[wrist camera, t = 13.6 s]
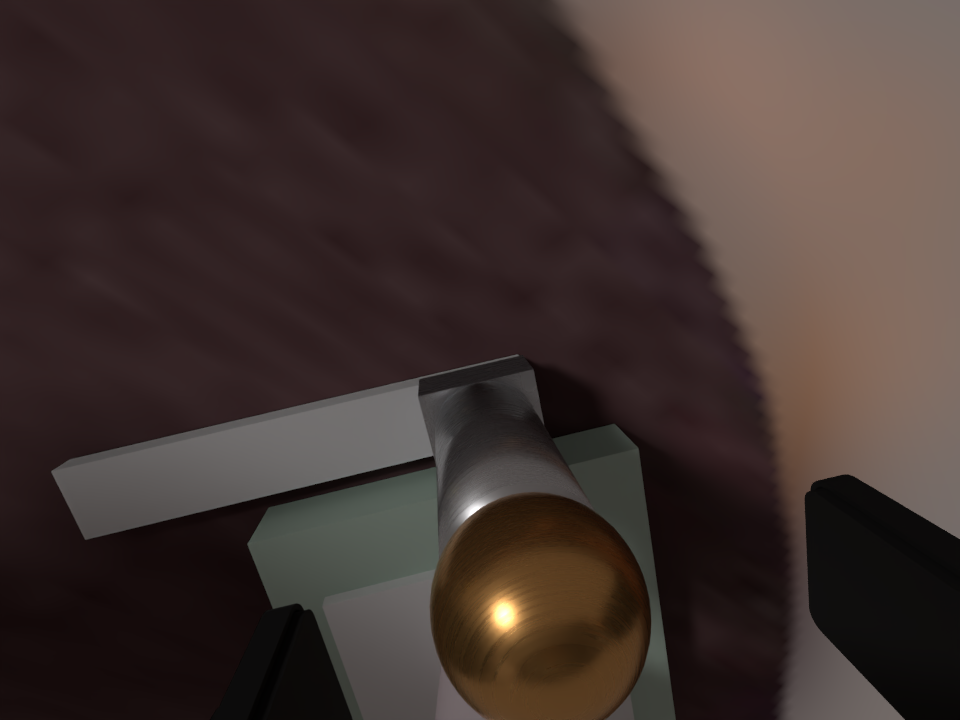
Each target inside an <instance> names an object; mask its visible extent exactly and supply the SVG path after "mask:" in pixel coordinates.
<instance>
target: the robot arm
mask: <svg viewBox="0 0 960 720" xmlns="http://www.w3.org/2000/svg"><path fill="white" fill-rule="evenodd" d="M805 517H806V542H807V566H808V590H809V609H810V613H811V616H812V618H813V620H814V622H815V624H816V625H817V627H818V628H819V629H820V630H821V631H822V633H823V634H824V635H825V636H826V637H827V638H828V639H829V640H830V641H831V642H832V643H833V644H834V645H835V646H836V648H837V649H838V650H839V651H840V652H841V653H842V654H843V655H844V656H845V657H846V658H847V659H848V660H849V661H850V662H851V663H852V664H853V665H854V666H855V667H856V669H857V670H858V671H859V672H860V673H861V674H862V675H863V676H864V677H865V678H866V679H867V680H868V681H869V682H870V683H871V684H872V685H873V686H874V687H875V688H876V689H877V691H878V692H879V693H880V694H881V695H882V696H883V697H884V698H885V699H886V700H887V701H888V702H889V703H890V704H891V705H892V706H893V707H894V709H895V710H897V712H898V713H899V714H900V715H901V716H902V717H903V718H904V719H905V720H960V539H958V538H957V537H955V536H953V535H951V534H950V533H948V532H947V531H945V530H943V529H941V528H940V527H938V526H936V525H935V524H933V523H931V522H929V521H928V520H926V519H925V518H923V517H921V516H919V515H918V514H916V513H914V512H913V511H911V510H909V509H908V508H906V507H904V506H903V505H901V504H899V503H898V502H896V501H894V500H893V499H891V498H889V497H887V496H886V495H884V494H882V493H881V492H879V491H877V490H876V489H874V488H872V487H870V486H869V485H867V484H866V483H864V482H862V481H860V480H859V479H857V478H855V477H853V476H850V475H840V476H836V477H832V478H827V479H824V480H819V481H816V482H814V483H813V484H812V486H811V491H809V492H807V493H806V495H805ZM210 720H353V719H352V716H351V713H350V710H349V708H348V705H347V702H346V699H345V697H344V694H343V691H342V689H341V686H340V683H339V681H338V678H337V675H336V672H335V670H334V667H333V664H332V662H331V659H330V656H329V653H328V651H327V648H326V645H325V643H324V640H323V637H322V634H321V632H320V629H319V626H318V624H317V621H316V618H315V615H314V613H313V611H312V610H310V609H307V610H304V609H303V607H302V606H301V605H300V604H297V603H296V604H292V605H287V606H283V607H279V608H275V609H270V610H267V611H266V612H264V614H263V615H262V617H261V619H260V621H259V623H258V625H257V628H256V630H255V632H254V634H253V636H252V638H251V640H250V642H249V645H248V647H247V649H246V651H245V653H244V655H243V657H242V660H241V662H240V664H239V666H238V668H237V670H236V672H235V674H234V677H233V679H232V681H231V683H230V685H229V687H228V689H227V692H226V694H225V696H224V698H223V700H222V702H221V704H220V707H219V708H218V709H217V710H216V711H215V712H214V714H213V716H212V717H211V719H210Z"/></svg>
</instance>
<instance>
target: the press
mask: <svg viewBox="0 0 960 720" xmlns="http://www.w3.org/2000/svg"><path fill="white" fill-rule="evenodd" d="M516 356H519V355H518V354H517V355H513V356H509V357H504V358H500V359H496V360H492V361H487V362H483V363H479V364H475V365H470V366H466V367H462V368H457V369H453V370H449V371H445V372H440V373H436V374H432V375H428V376H423V377H419V378H415V379H411V380H406V381H402V382H398V383H394V384H389V385H385V386H381V387H376V388H372V389H368V390H364V391H359V392H355V393H351V394H347V395H342V396H338V397H334V398H330V399H325V400H321V401H317V402H313V403H308V404H304V405H300V406H295V407H291V408H287V409H283V410H278V411H274V412H270V413H266V414H261V415H257V416H253V417H249V418H244V419H240V420H236V421H232V422H227V423H223V424H219V425H214V426H210V427H206V428H202V429H197V430H193V431H189V432H185V433H180V434H176V435H172V436H168V437H163V438H159V439H155V440H150V441H146V442H142V443H138V444H133V445H129V446H125V447H121V448H116V449H112V450H108V451H104V452H99V453H95V454H91V455H87V456H82V457H78V458H74V459H70V460H68V461H67V462H65V463H63V464H62V465H60V466H59V467H57V468H56V469H54V470H52V471H51V472H52V474H53V476H54V478H55V480H56V482H57V484H58V486H59V488H60V490H61V492H62V494H63V496H64V498H65V500H66V502H67V504H68V506H69V508H70V510H71V512H72V514H73V516H74V518H75V520H76V522H77V524H78V526H79V528H80V530H81V532H82V534H83V536H84V538H85V540H87V539H91V538H95V537H99V536H103V535H107V534H111V533H116V532H120V531H124V530H128V529H132V528H136V527H140V526H145V525H149V524H153V523H157V522H161V521H165V520H169V519H174V518H178V517H182V516H186V515H190V514H194V513H198V512H202V511H207V510H211V509H215V508H219V507H223V506H227V505H231V504H236V503H240V502H244V501H248V500H252V499H256V498H260V497H264V496H269V495H273V494H277V493H281V492H285V491H289V490H293V489H298V488H302V487H306V486H310V485H314V484H318V483H322V482H327V481H331V480H335V479H339V478H343V477H347V476H351V475H355V474H360V473H364V472H368V471H372V470H376V469H380V468H384V467H389V466H393V465H397V464H401V463H405V462H409V461H413V460H418V459H422V458H426V457H430V456H434V455H433V452H432V448H431V444H430V440H429V436H428V433H427V429H426V425H425V421H424V417H423V414H422V410H421V406H420V402H419V398H418V389H419V379H423V378H427V377H431V376H435V375H440V374H444V373H448V372H453V371H457V370H461V369H465V368H470V367H474V366H478V365H482V364H487V363H491V362H495V361H499V360H504V359H508V358H512V357H516ZM552 440H553V441H554V443H555V445H556V446H557V448H558V450H559V451H560V453H561V455H562V456H563V458H564V460H565V461H566V463H567V465H568V466H569V468H570V470H571V471H572V473H573V475H574V476H575V478H576V480H577V481H578V483H579V485H580V486H581V488H582V490H583V491H584V493H585V495H586V496H587V498H588V500H589V502H590V503H591V505H592V507H593V508H594V510H595V512H597V513H598V514H599V515H600V516H602V517H603V518H604V519H605V520H606V521H607V522H608V523H610V524H611V525H612V526H613V527H614V528H615V529H616V530H617V532H618V533H619V534H620V535H621V536H622V538H623V539H624V540H625V542H626V543H627V544H628V546H629V547H630V549H631V551H632V552H633V554H634V556H635V558H636V560H637V562H638V564H639V566H640V568H641V571H642V573H643V576H644V579H645V583H646V586H647V590H648V594H649V600H650V607H651V637H650V645H649V649H648V653H647V657H646V661H645V665H644V667H643V670H642V672H641V675H640V677H639V679H638V681H637V683H636V685H635V686H634V688H633V690H632V692H631V693H630V694H629V696H628V697H627V699H626V700H625V701H624V702H623V703H622V704H621V705H620V706H619V708H618V709H617V710H616V711H615V712H614V713H613V714H611V715H610V716H609V717H608V718H607V719H605V720H676V718H675V711H674V704H673V696H672V689H671V682H670V674H669V667H668V660H667V653H666V645H665V638H664V631H663V623H662V616H661V609H660V602H659V594H658V587H657V580H656V572H655V565H654V558H653V551H652V543H651V536H650V529H649V521H648V514H647V507H646V500H645V492H644V485H643V478H642V470H641V463H640V456H639V449H638V447H637V446H636V445H635V444H634V443H633V442H632V441H631V440H630V439H629V438H628V437H627V436H626V435H625V434H624V433H623V432H622V431H621V430H620V429H619V428H618V427H617V426H616V425H615V424H611V425H607V426H603V427H599V428H594V429H590V430H586V431H582V432H578V433H574V434H570V435H566V436H561V437H557V438H553V439H552ZM247 545H248V547H249V550H250V552H251V555H252V557H253V560H254V562H255V565H256V567H257V570H258V572H259V575H260V577H261V580H262V582H263V585H264V587H265V590H266V592H267V595H268V597H269V600H270V602H271V605H272V607H273V609H275V608H279V607H283V606H287V605H292V604H296V603H297V604H300V605H301V606H302V607H303V609H304V610H307V609H310V610H312V611H313V613H314V615H315V618H316V621H317V624H318V626H319V629H320V632H321V634H322V637H323V640H324V643H325V645H326V648H327V651H328V653H329V656H330V659H331V662H332V664H333V667H334V670H335V672H336V675H337V678H338V681H339V683H340V686H341V689H342V691H343V694H344V697H345V699H346V702H347V705H348V708H349V710H350V713H351V716H352V719H353V720H435V714H436V706H437V697H438V688H439V679H440V670H441V663H440V660H439V658H438V655H437V652H436V649H435V645H434V641H433V637H432V632H431V624H430V608H429V606H430V595H431V585H432V581H433V577H434V573H435V570H436V566H437V563H438V561H439V544H438V512H437V481H436V467H434V468H430V469H426V470H421V471H417V472H413V473H409V474H405V475H401V476H397V477H393V478H388V479H384V480H380V481H376V482H372V483H368V484H364V485H360V486H356V487H351V488H347V489H343V490H339V491H335V492H331V493H327V494H323V495H318V496H314V497H310V498H306V499H302V500H298V501H294V502H290V503H286V504H281V505H277V506H273V507H269V508H268V510H267V511H266V513H265V515H264V516H263V518H262V520H261V522H260V523H259V525H258V527H257V529H256V530H255V532H254V534H253V535H252V537H251V539H250V541H249V542H248V544H247Z"/></svg>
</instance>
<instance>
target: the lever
mask: <svg viewBox="0 0 960 720" xmlns="http://www.w3.org/2000/svg"><path fill="white" fill-rule="evenodd" d="M418 398H419V402H420V406H421V410H422V414H423V417H424V421H425V425H426V429H427V433H428V436H429V440H430V444H431V448H432V452H433V455H434V459H435V463H436V481H437V512H438V544H439V561H438V563H437V566H436V570H435V573H434V577H433V581H432V585H431V595H430V606H429V608H430V624H431V632H432V637H433V641H434V645H435V649H436V652H437V655H438V658H439V660H440V663H441V665H442V667H443V669H444V671H445V674H446V675H447V677H448V679H449V680H450V682H451V684H452V685H453V687H454V688H455V689H456V691H457V692H458V694H459V695H460V696H461V697H462V698H463V700H464V701H465V702H466V703H467V704H468V705H469V706H470V707H471V708H472V709H474V710H475V711H476V712H477V713H478V714H479V715H480V716H481V717H483V718H484V719H486V720H605V719H607V718H608V717H609V716H610V715H611V714H613V713H614V712H615V711H616V710H617V709H618V708H619V706H620V705H621V704H622V703H623V702H624V701H625V700H626V699H627V697H628V696H629V694H630V693H631V692H632V690H633V688H634V686H635V685H636V683H637V681H638V679H639V677H640V675H641V672H642V670H643V667H644V665H645V661H646V657H647V653H648V649H649V645H650V637H651V607H650V600H649V594H648V590H647V586H646V583H645V579H644V576H643V573H642V571H641V568H640V566H639V564H638V562H637V560H636V558H635V556H634V554H633V552H632V551H631V549H630V547H629V546H628V544H627V543H626V542H625V540H624V539H623V538H622V536H621V535H620V534H619V533H618V532H617V530H616V529H615V528H614V527H613V526H612V525H611V524H610V523H608V522H607V521H606V520H605V519H604V518H603V517H602V516H600V515H599V514H598V513H597V512H595V510H594V508H593V507H592V505H591V503H590V502H589V500H588V498H587V496H586V495H585V493H584V491H583V490H582V488H581V486H580V485H579V483H578V481H577V480H576V478H575V476H574V475H573V473H572V471H571V470H570V468H569V466H568V465H567V463H566V461H565V460H564V458H563V456H562V455H561V453H560V451H559V450H558V448H557V446H556V445H555V443H554V441H553V440H552V438H551V436H550V435H549V433H548V431H547V430H546V428H545V426H544V421H543V416H542V411H541V406H540V400H539V395H538V390H537V385H536V380H535V374H534V369H533V368H532V367H531V365H530V364H529V363H528V361H527V360H526V359H525V357H524V356H523V355H521V356H516V357H512V358H508V359H504V360H499V361H495V362H491V363H487V364H482V365H478V366H474V367H470V368H465V369H461V370H457V371H453V372H448V373H444V374H440V375H435V376H431V377H427V378H423V379H419V389H418Z"/></svg>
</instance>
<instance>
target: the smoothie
mask: <svg viewBox="0 0 960 720" xmlns="http://www.w3.org/2000/svg"><path fill="white" fill-rule="evenodd" d="M435 720H486V719H484V718H483V717H481V716H480V715H479V714H478V713H477V712H476V711H475V710H474V709H472V708H471V707H470V706H469V705H468V704H467V703H466V702H465V701H464V700H463V698H462V697H461V696H460V695H459V694H458V692H457V691H456V689H455V688H454V687H453V685H452V684H451V682H450V680H449V679H448V677H447V675H446V674H445V671H444V669H443V667H442V665H441V670H440V679H439V688H438V697H437V706H436V714H435Z"/></svg>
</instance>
